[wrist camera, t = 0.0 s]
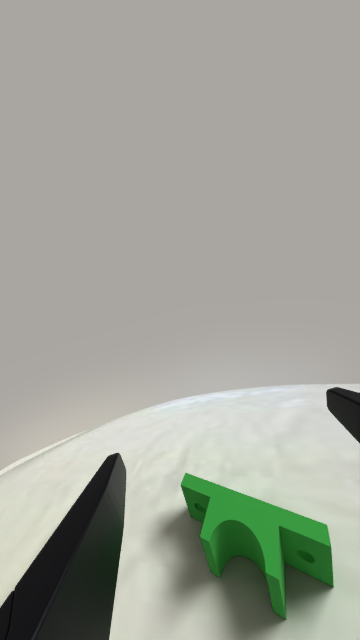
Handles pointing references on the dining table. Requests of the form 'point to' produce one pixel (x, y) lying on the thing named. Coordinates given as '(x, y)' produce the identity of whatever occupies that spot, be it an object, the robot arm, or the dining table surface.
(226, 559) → the pipe clamp
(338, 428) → the dining table surface
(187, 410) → the dining table surface
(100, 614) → the robot arm
